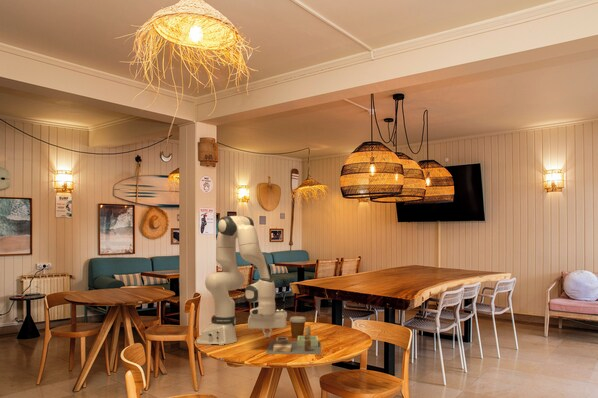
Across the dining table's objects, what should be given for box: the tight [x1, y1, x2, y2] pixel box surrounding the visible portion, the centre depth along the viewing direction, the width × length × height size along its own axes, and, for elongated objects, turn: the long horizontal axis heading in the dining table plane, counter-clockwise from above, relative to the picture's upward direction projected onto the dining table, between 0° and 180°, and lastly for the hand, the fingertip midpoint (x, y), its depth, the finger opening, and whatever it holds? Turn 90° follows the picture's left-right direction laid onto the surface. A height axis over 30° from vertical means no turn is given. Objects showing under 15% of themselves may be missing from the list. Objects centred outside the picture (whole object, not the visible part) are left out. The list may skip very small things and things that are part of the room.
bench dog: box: [305, 340, 311, 351], centre depth 238 cm, size 3×3×5 cm
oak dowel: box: [304, 325, 312, 340], centre depth 250 cm, size 3×3×9 cm
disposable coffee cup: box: [289, 315, 306, 340], centre depth 267 cm, size 10×10×12 cm
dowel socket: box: [275, 336, 289, 344], centre depth 250 cm, size 6×6×3 cm
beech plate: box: [273, 344, 292, 352], centre depth 238 cm, size 9×7×2 cm
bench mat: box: [265, 340, 322, 355], centre depth 244 cm, size 28×26×1 cm
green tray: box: [296, 335, 319, 347], centre depth 250 cm, size 11×10×4 cm
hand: (267, 337), depth 238 cm, fingers closed
